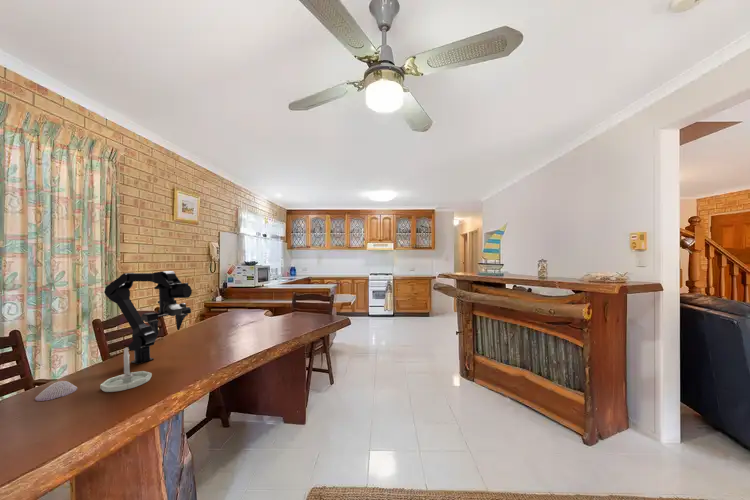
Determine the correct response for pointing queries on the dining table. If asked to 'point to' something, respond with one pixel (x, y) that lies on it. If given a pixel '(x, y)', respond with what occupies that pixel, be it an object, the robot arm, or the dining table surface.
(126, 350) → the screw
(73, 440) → the dining table surface
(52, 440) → the dining table surface
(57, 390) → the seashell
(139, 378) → the dish
